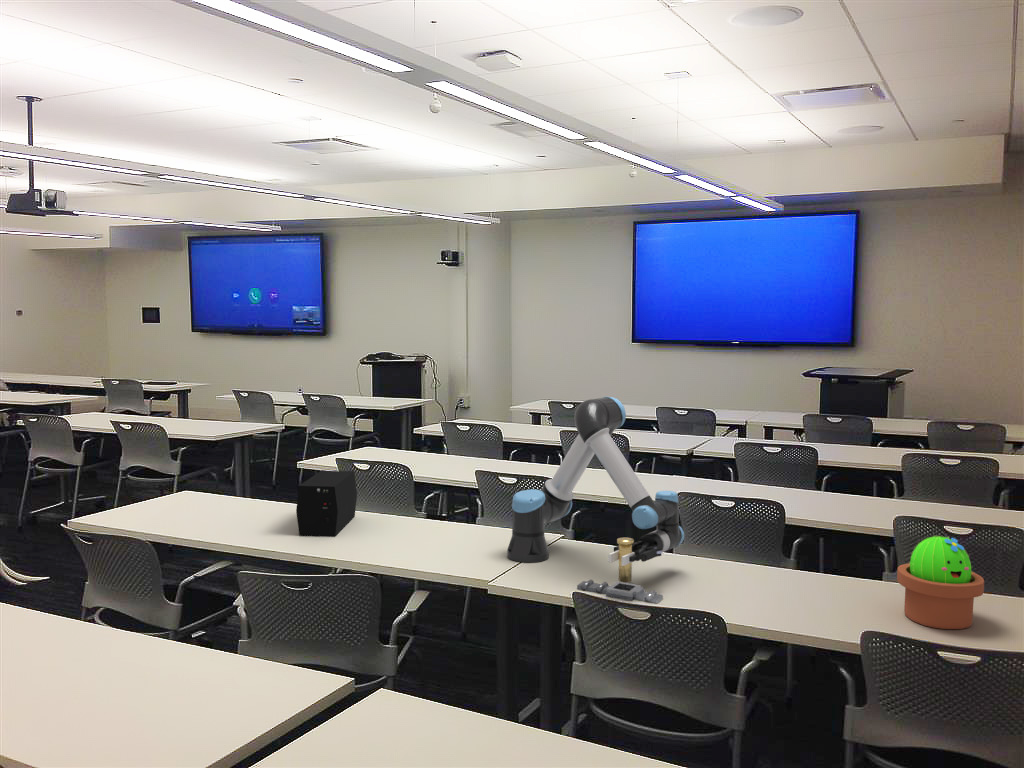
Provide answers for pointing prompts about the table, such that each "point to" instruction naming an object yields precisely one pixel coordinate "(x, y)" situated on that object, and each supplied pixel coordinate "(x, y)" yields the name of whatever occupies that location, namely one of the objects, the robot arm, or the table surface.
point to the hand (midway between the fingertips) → (616, 559)
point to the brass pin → (624, 549)
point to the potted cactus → (940, 584)
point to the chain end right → (634, 592)
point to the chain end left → (602, 589)
